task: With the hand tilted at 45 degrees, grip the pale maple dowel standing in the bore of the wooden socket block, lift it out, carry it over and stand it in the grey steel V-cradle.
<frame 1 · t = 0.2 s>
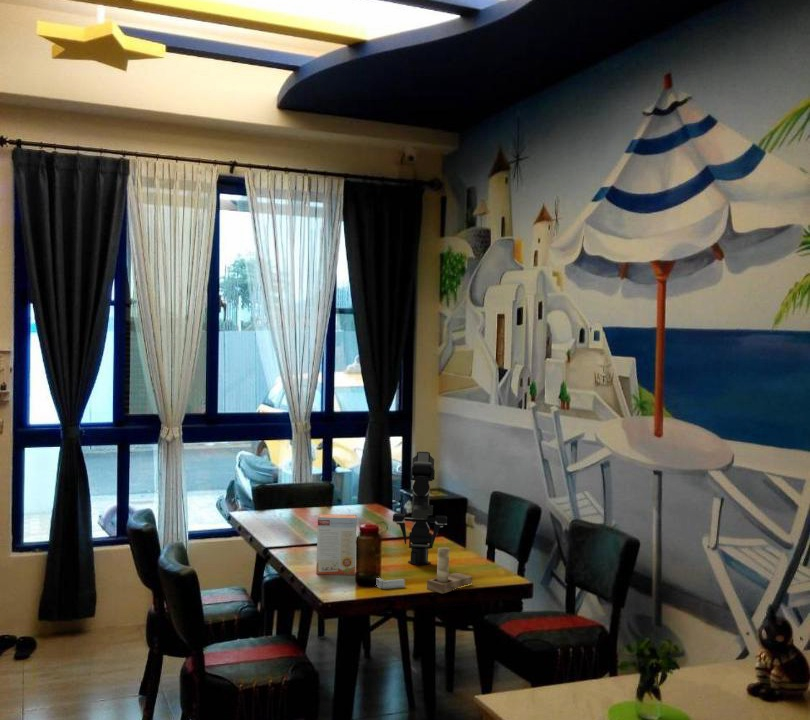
hand: (418, 544, 294), 15 cm above the table, tool tilted 15°, fingers open, 9 cm apart
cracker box: (335, 573, 311), on the table
wooden socket block: (449, 587, 298), on the table
v cradle: (386, 585, 297), on the table
dowel: (442, 589, 295), on the table
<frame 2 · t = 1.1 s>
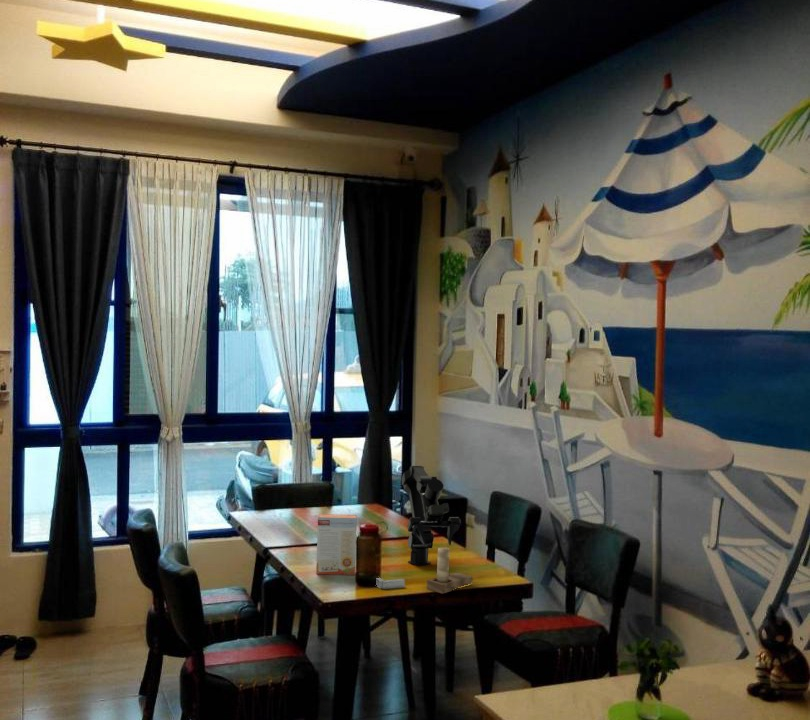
hand: (437, 544, 303), 13 cm above the table, tool tilted 45°, fingers open, 9 cm apart
nothing on the table moved.
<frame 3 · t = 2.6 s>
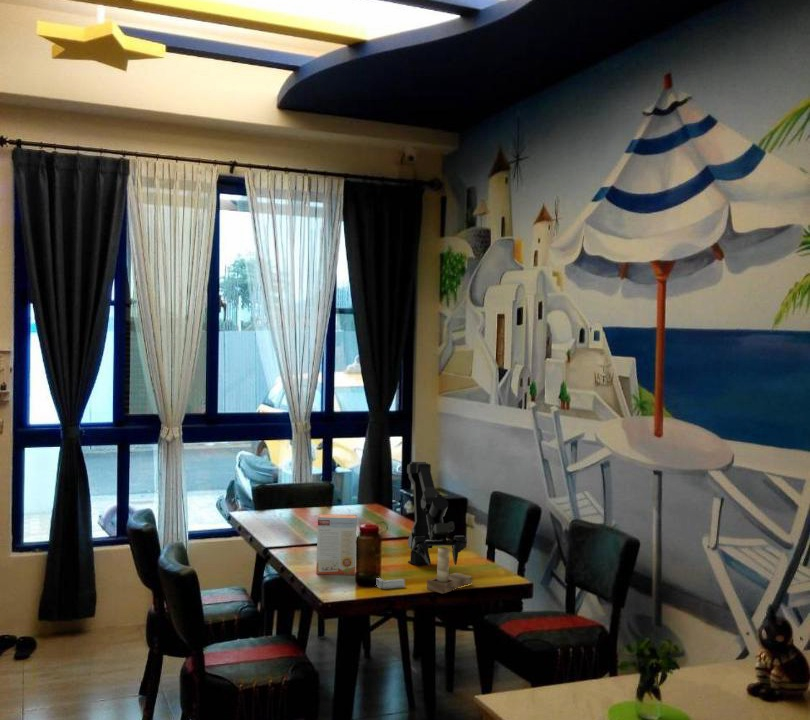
hand: (442, 564, 295), 8 cm above the table, tool tilted 45°, fingers open, 9 cm apart
nothing on the table moved.
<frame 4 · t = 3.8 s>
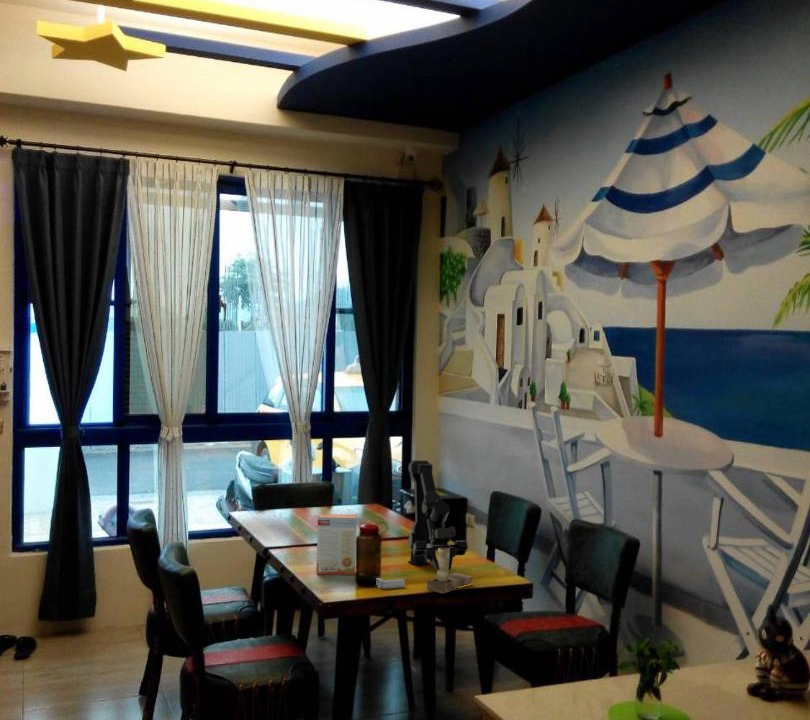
hand: (444, 569, 294), 7 cm above the table, tool tilted 45°, fingers closed on dowel, 4 cm apart
dowel: (442, 589, 295), on the table, touching gripper
everything else where it was.
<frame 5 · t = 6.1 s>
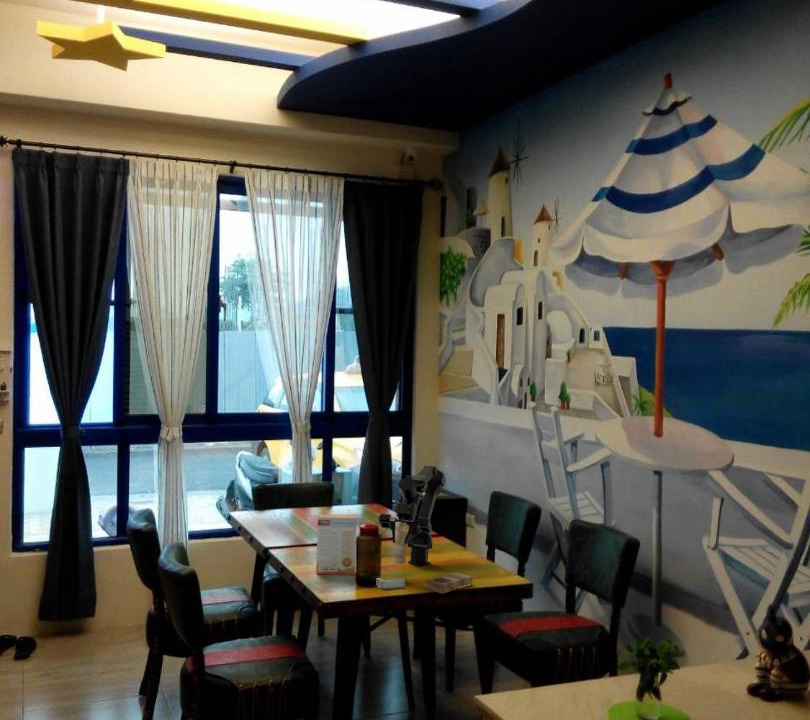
hand: (399, 543, 303), 13 cm above the table, tool tilted 45°, fingers closed on dowel, 4 cm apart
dowel: (399, 562, 305), point 6 cm above the table, touching gripper
everything else where it was.
when the fingers open (8 cm above the table, at t = 8.6 s): dowel stays where it is, on the table.
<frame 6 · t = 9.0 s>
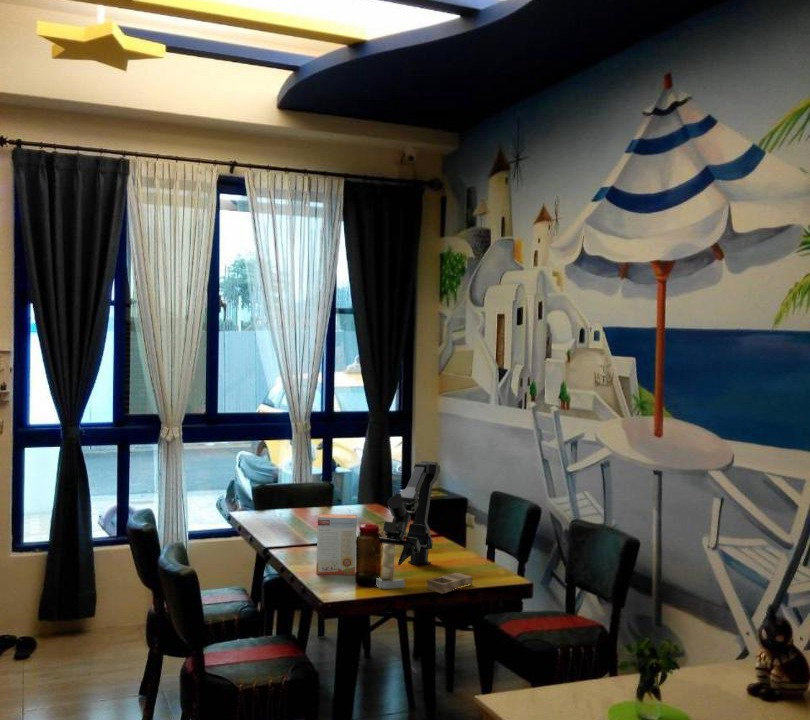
hand: (386, 563, 296), 8 cm above the table, tool tilted 45°, fingers open, 9 cm apart
dowel: (387, 585, 297), on the table
everything else where it was.
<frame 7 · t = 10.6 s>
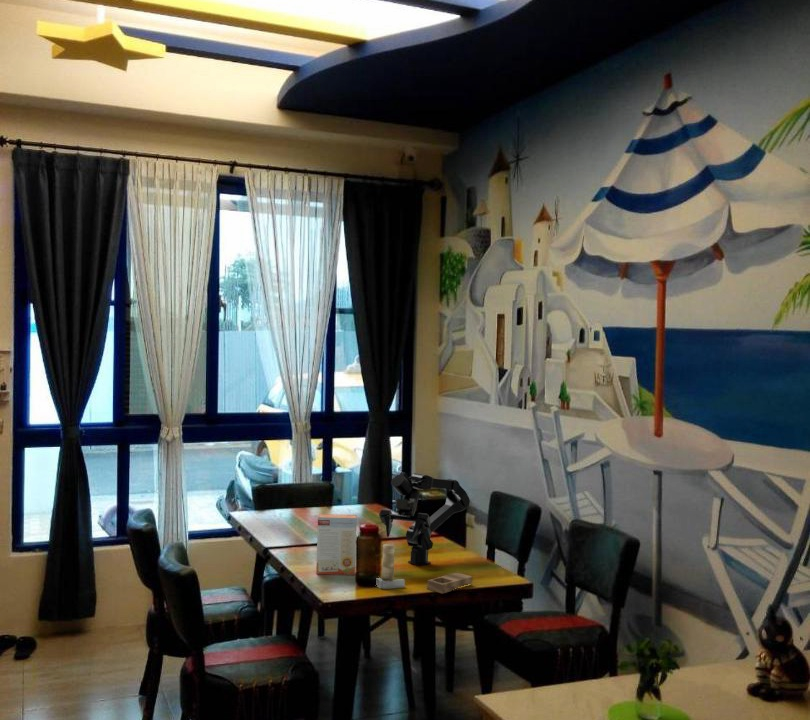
hand: (399, 538, 312), 13 cm above the table, tool tilted 45°, fingers open, 9 cm apart
nothing on the table moved.
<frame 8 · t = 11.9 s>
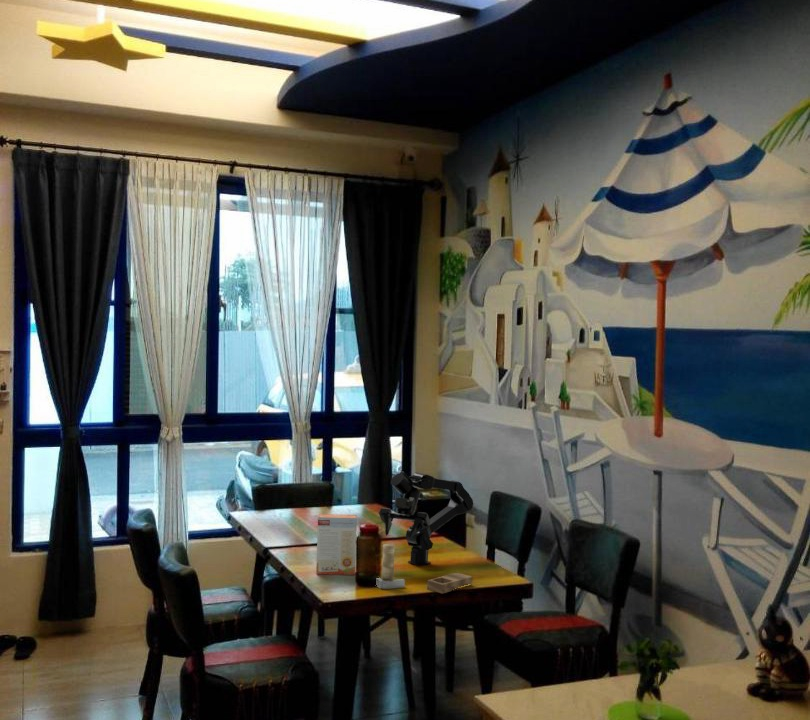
hand: (397, 536, 312), 14 cm above the table, tool tilted 45°, fingers open, 9 cm apart
nothing on the table moved.
at the end: dowel 0.6 cm from the v cradle (horizontally); dowel tilted 0°; dowel on the table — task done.
